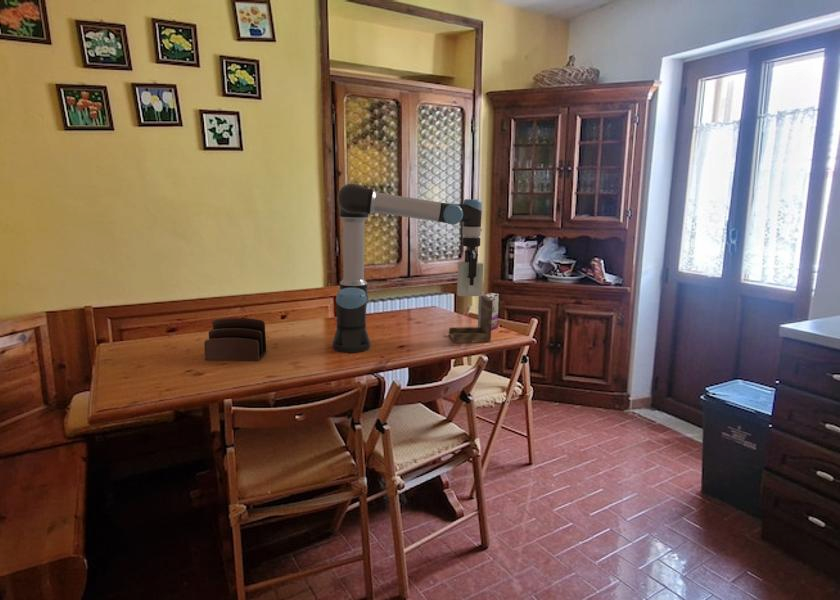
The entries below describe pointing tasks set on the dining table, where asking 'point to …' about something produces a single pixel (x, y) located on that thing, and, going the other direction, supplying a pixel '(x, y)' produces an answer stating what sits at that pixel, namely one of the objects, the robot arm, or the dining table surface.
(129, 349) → the dining table surface
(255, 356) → the letter holder
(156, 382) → the dining table surface
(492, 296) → the candy bar box
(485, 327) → the track
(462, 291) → the door panel
